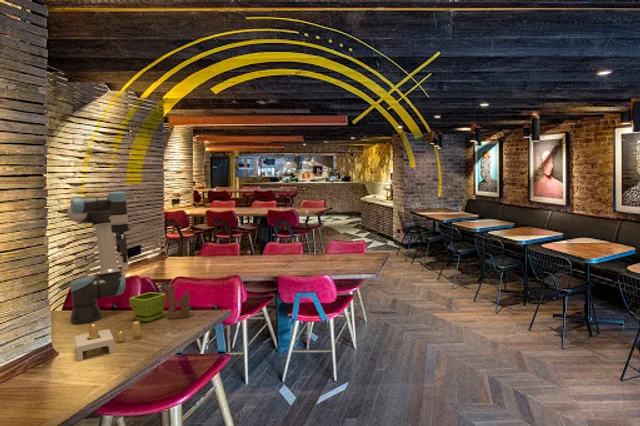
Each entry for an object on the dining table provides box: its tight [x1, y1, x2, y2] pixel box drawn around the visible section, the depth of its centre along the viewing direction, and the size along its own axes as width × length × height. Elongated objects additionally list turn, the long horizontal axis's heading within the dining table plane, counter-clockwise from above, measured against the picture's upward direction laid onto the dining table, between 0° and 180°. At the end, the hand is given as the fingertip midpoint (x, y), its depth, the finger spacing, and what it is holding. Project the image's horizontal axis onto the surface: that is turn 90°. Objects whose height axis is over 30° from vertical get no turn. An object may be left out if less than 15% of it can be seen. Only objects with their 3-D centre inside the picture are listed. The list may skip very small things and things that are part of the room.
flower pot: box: [128, 291, 167, 323], centre depth 227 cm, size 14×14×13 cm
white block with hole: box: [74, 328, 116, 362], centre depth 185 cm, size 16×14×6 cm
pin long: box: [87, 322, 101, 353], centre depth 185 cm, size 4×4×12 cm
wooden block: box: [166, 284, 191, 320], centre depth 226 cm, size 4×11×18 cm, turn 95°
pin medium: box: [131, 319, 142, 340], centre depth 198 cm, size 4×4×8 cm
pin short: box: [115, 329, 126, 344], centre depth 194 cm, size 4×4×5 cm
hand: (123, 267), depth 203 cm, fingers open, 13 cm apart
